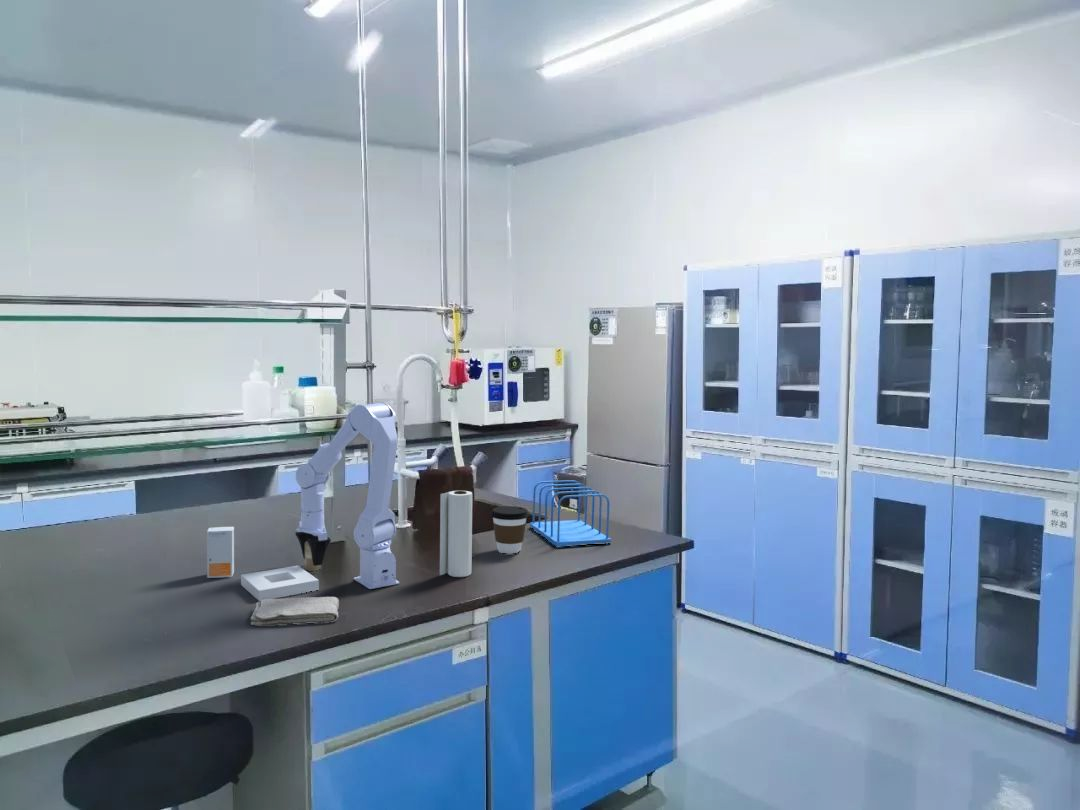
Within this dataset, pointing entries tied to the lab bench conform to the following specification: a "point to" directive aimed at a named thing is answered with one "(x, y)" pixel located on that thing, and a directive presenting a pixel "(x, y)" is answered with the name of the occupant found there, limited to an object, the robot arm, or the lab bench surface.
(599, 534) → the file sorter
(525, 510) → the coffee cup
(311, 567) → the birch peg
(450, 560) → the paper towel roll
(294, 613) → the washcloth
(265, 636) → the lab bench surface
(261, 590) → the socket block
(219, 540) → the skincare box
